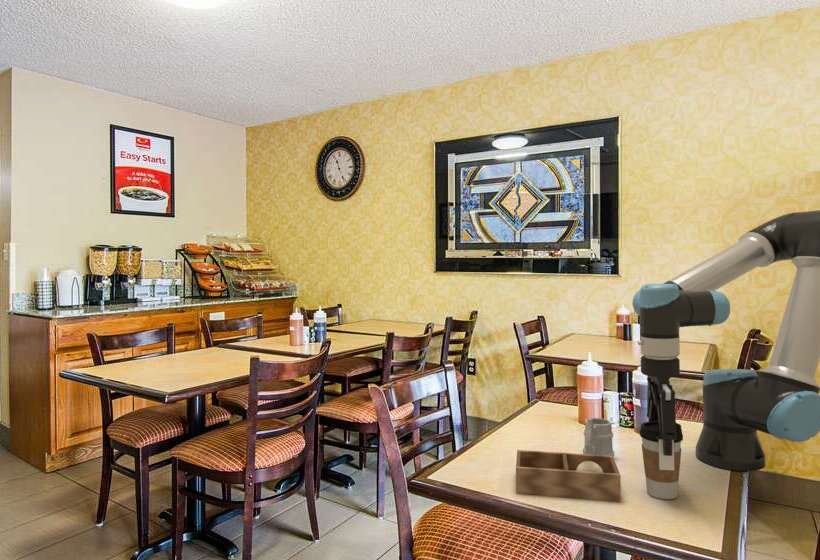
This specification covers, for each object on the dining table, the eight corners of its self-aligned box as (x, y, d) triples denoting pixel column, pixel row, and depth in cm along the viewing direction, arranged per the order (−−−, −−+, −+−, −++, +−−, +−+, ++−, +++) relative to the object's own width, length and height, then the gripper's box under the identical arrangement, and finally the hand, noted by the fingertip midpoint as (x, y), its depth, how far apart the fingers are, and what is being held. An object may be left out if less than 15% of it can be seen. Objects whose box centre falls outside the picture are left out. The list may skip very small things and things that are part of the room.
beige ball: (602, 484, 118) (602, 457, 117) (606, 495, 112) (605, 468, 112) (574, 482, 119) (574, 456, 119) (576, 493, 113) (576, 466, 113)
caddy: (612, 483, 120) (612, 455, 119) (620, 506, 109) (620, 475, 108) (517, 476, 124) (517, 449, 124) (516, 497, 114) (515, 467, 113)
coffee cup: (689, 503, 107) (688, 431, 107) (645, 500, 109) (644, 430, 108) (677, 486, 115) (676, 419, 115) (636, 484, 117) (635, 418, 117)
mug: (618, 457, 135) (618, 411, 135) (603, 472, 126) (602, 423, 126) (589, 451, 140) (588, 407, 140) (572, 465, 131) (572, 418, 130)
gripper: (631, 347, 122) (633, 443, 123) (651, 366, 102) (653, 480, 103) (666, 348, 121) (668, 444, 121) (693, 366, 100) (695, 482, 101)
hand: (661, 460), depth 112 cm, fingers closed on coffee cup, 8 cm apart
